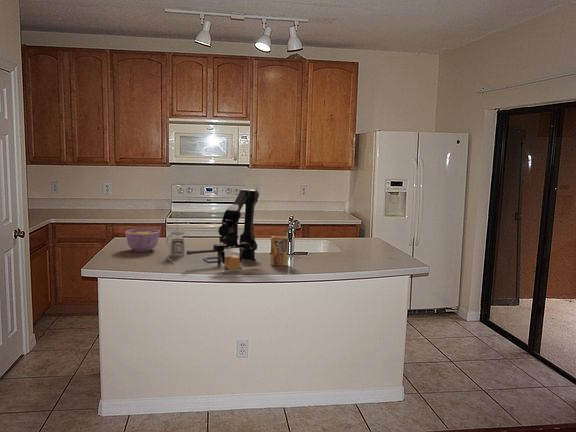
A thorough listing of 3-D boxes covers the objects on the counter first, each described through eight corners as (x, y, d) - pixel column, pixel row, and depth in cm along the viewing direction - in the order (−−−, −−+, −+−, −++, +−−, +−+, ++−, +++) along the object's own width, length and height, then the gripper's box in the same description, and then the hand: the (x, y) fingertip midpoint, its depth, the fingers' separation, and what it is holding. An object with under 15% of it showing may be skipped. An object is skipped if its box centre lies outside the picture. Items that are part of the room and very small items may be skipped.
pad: (236, 266, 266) (236, 265, 266) (243, 269, 258) (243, 269, 258) (220, 267, 262) (220, 266, 261) (226, 271, 254) (226, 270, 254)
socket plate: (218, 258, 282) (218, 255, 282) (231, 266, 265) (231, 262, 265) (198, 259, 277) (198, 256, 277) (210, 268, 259) (210, 265, 259)
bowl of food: (119, 249, 297) (119, 230, 296) (150, 245, 311) (150, 227, 309) (134, 255, 283) (133, 235, 281) (166, 251, 296) (166, 232, 294)
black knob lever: (221, 262, 266) (221, 248, 265) (222, 263, 264) (222, 248, 263) (186, 266, 258) (185, 250, 256) (187, 267, 255) (187, 251, 254)
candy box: (286, 263, 274) (287, 236, 271) (286, 265, 269) (287, 237, 267) (270, 263, 274) (271, 236, 271) (270, 265, 269) (271, 237, 267)
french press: (182, 259, 278) (181, 214, 274) (162, 257, 280) (162, 213, 277) (189, 255, 288) (188, 212, 284) (170, 253, 290) (170, 211, 286)
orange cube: (235, 266, 264) (235, 255, 263) (239, 268, 259) (239, 257, 258) (224, 267, 261) (224, 256, 260) (228, 269, 256) (228, 258, 255)
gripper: (242, 229, 268) (242, 257, 271) (209, 231, 260) (209, 261, 262) (251, 233, 259) (250, 262, 261) (217, 235, 250) (216, 265, 252)
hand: (231, 262), depth 259 cm, fingers open, 9 cm apart
